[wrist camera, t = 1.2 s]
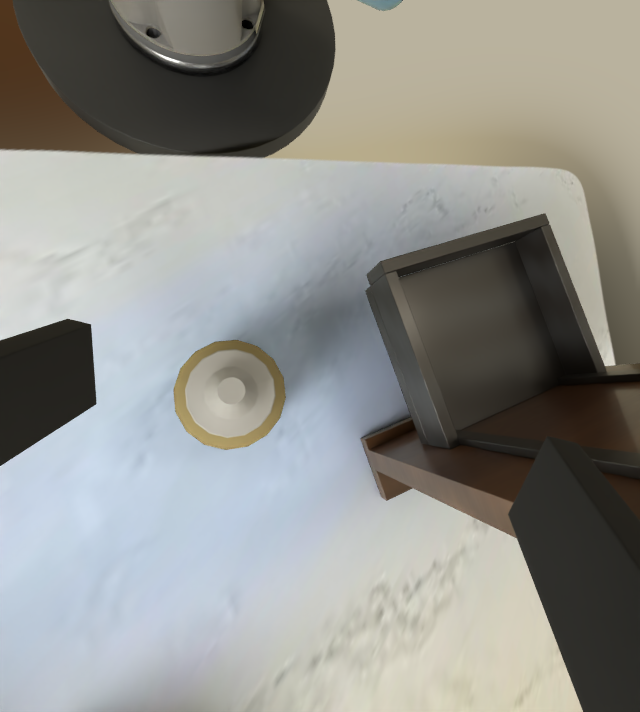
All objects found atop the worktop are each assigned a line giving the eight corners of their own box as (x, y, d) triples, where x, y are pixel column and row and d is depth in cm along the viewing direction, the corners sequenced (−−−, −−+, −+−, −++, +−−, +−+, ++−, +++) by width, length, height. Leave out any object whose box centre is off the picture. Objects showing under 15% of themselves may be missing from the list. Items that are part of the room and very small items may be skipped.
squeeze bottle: (178, 440, 32) (114, 487, 14) (189, 347, 33) (142, 286, 15) (272, 444, 33) (317, 490, 16) (279, 356, 35) (328, 310, 17)
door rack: (312, 307, 36) (583, -7, 8) (491, 251, 42) (1006, -45, 14) (381, 497, 35) (925, 850, 8) (553, 414, 41) (1223, 444, 13)
